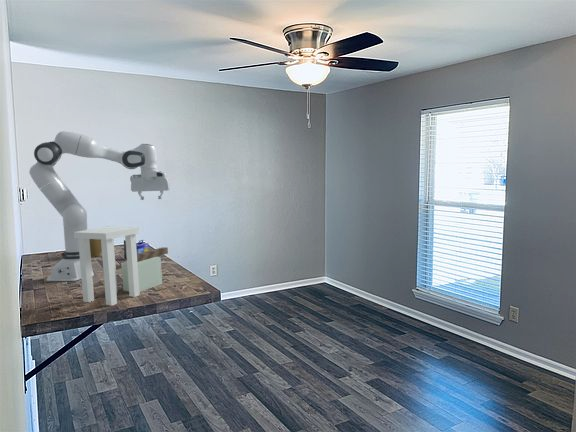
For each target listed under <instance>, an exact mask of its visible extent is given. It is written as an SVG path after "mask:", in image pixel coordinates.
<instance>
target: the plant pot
mask: <svg viewBox="0 0 576 432" xmlns="http://www.w3.org/2000/svg"><path fill="white" fill-rule="evenodd" d="M89 241H90V253H91V258H96V257H95V256H98V257H100V256H101V255H102V246H101V239H89Z"/></svg>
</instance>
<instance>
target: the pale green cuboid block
mask: <svg viewBox="0 0 576 432" xmlns="http://www.w3.org/2000/svg"><path fill="white" fill-rule="evenodd" d="M120 264H121V277H122V289H123V290H122V291H123V292H129V283H128V269H127V261H124V262H121V263H120ZM137 264H138V278H139V292H140V293H141V292H144V291H147V290H149V289H151V288H155V287H157V286H160V285H162V284H163V276H162V275H163V272H162V260H161V256H157V257H154V258H150V259H147V260H143V261H140V262H137Z"/></svg>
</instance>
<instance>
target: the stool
mask: <svg viewBox="0 0 576 432" xmlns="http://www.w3.org/2000/svg"><path fill="white" fill-rule="evenodd" d="M139 233H140V232H139V227H138V226H137V227H135V226H132V227H131V226H102V227H96V228H91V229H87V230H84V231H78V232H74V238H78V243H79V255H80V267H81V279H80V280H81V289H82V299H83V300H82V302H83V303H87V302H89V303H91V301H92V302H95V294H94V293H95V292H94V282H93V281H94V278H93V276H92V270H93V267H92V266H93V265H92V257H91V253H90V241H89V239H101V246H102V251H101V255H102V269H103V279H104V280H103V281H104V282H103V283H104V293H105V294H104V295H105V297H104V298H105V305H106V306H111V307H112V306H114V305H117V304H118V295H117V293H118V281H117V279H118V278H117V268H116V265H117V264H116V254H115V252H116V251H115V241H114V239H117V238H121V237H125V241H126V255H127V260H126V262H127V269H128V283H129V291H128V294H129V297H132V298H133V297H134V298H135V297H136V298H137V297H139V296H140V293H141V292H139V278H138V264H137V250H136V244H137V239H136V238H137V237H136V235H137V234H139Z"/></svg>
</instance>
